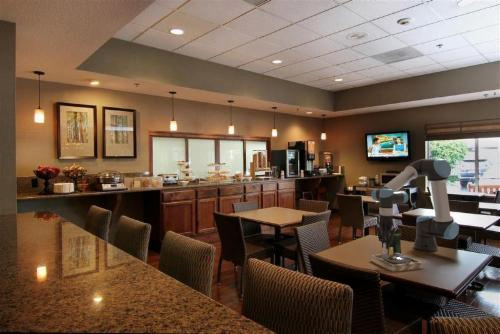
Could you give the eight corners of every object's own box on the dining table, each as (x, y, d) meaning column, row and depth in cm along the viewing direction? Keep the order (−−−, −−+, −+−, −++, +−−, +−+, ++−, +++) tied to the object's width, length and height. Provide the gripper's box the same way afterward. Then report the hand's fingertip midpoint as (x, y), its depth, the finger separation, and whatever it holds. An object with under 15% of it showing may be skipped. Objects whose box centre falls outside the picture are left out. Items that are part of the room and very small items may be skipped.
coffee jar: (403, 256, 212) (403, 228, 211) (394, 257, 209) (394, 229, 208) (392, 252, 221) (392, 225, 220) (383, 253, 218) (383, 226, 217)
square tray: (398, 258, 207) (398, 252, 207) (422, 268, 188) (422, 261, 188) (371, 260, 202) (371, 254, 202) (393, 271, 183) (393, 264, 183)
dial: (389, 254, 206) (389, 240, 206) (415, 260, 194) (415, 245, 194) (376, 260, 196) (376, 245, 196) (403, 266, 184) (403, 250, 184)
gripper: (372, 213, 195) (372, 252, 196) (393, 217, 185) (392, 257, 186) (379, 212, 200) (378, 250, 201) (399, 215, 190) (399, 255, 191)
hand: (385, 253), depth 193 cm, fingers closed
